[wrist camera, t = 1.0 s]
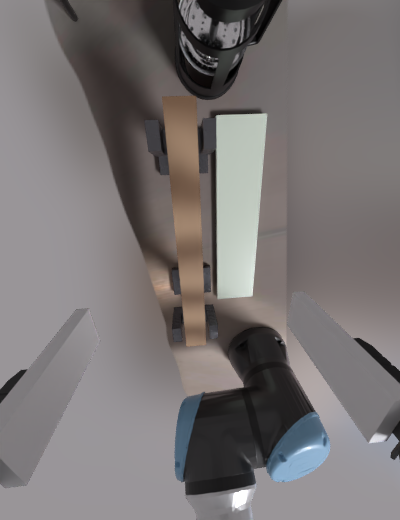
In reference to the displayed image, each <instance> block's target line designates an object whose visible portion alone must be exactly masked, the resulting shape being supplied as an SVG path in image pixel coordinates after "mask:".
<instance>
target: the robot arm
mask: <svg viewBox="0 0 400 520" xmlns="http://www.w3.org/2000/svg"><path fill="white" fill-rule="evenodd" d="M287 325H288V327H289V328H290V330H291V331H292V333H293V334H294V335H295V337H296V338H297V340H298V341H299V343H300V344H301V346H302V347H303V348H304V350H305V352H306V353H307V354H308V356H309V357H310V359H311V360H312V362H313V363H314V365H315V366H316V368H317V369H318V370H319V372H320V373H321V375H322V376H323V378H324V379H325V381H326V382H327V384H328V385H329V386H330V388H331V389H332V391H333V392H334V394H335V395H336V396H337V398H338V399H339V401H340V402H341V404H342V405H343V407H344V408H345V410H346V411H347V413H348V414H349V415H350V417H351V418H352V420H353V421H354V423H355V424H356V426H357V427H358V429H359V430H360V431H361V433H362V434H363V436H364V437H365V439H366V440H367V442H368V443H374V442H381V441H387V440H388V438H389V437H390V435H391V434H392V433H393V434H394V435H395V436H396V437H397V439H398V440H399V443H398V444H397V445H396V447H395V448H394V449H393V451H392V452H391V458H392V459H394V460H395V458H396V457H397V456H398V455H399V458H400V371H399V370H398V369H397V368H396V367H395V366H392V365H391V363H390V362H389V361H388V360H387V359H386V358H385V357H383V356H382V354H380V353H379V352H378V351H377V350H376V349H375V348H374V347H373V346H372V345H370V344H368V343H366V342H365V341H363V340H362V339H360V338H352V337H351V336H350V335H349V334H348V333H347V332H346V331H345V330H344V329H343V328H342V327H341V326H340V325H339V324H338V323H336V322H335V321H334V320H333V319H332V318H331V317H330V316H329V315H328V314H327V313H326V312H325V311H324V310H323V309H322V308H321V307H320V306H319V305H318V304H317V303H316V302H315V301H314V300H312V298H311V297H310V296H308V295H307V294H306V293H305V292H293V295H292V301H291V306H290V311H289V316H288V322H287ZM99 342H100V339H99V336H98V333H97V330H96V327H95V324H94V321H93V318H92V316H91V313H90V310H89V308H87V309H77V310H75V312H74V313H73V314H72V315H71V317H70V318H69V319H68V320H67V322H66V323H65V324H64V325H63V327H62V328H61V329H60V330H59V332H58V333H57V334H56V336H54V338H53V339H52V340H51V341H50V343H49V344H48V345H47V346H46V348H45V349H44V350H43V351H42V353H41V354H40V355H39V357H38V358H37V359H36V360H35V361H34V362H33V364H32V365H31V366H30V367H29V369H27V370H21V371H19V372H18V373H17V374H16V375H15V376H13V377H12V378H11V379H10V380H8V381H7V382H6V384H5V385H4V386H3V387H2V388H1V389H0V484H1V485H2V486H3V487H4V488H10V487H18V486H26V485H27V484H28V482H29V480H30V478H31V476H32V474H33V472H34V470H35V468H36V466H37V464H38V462H39V460H40V458H41V457H42V455H43V453H44V451H45V449H46V447H47V445H48V443H49V441H50V439H51V437H52V435H53V433H54V431H55V429H56V427H57V425H58V423H59V421H60V419H61V417H62V415H63V413H64V411H65V409H66V407H67V405H68V403H69V402H70V400H71V397H72V395H73V393H74V392H75V390H76V388H77V386H78V383H79V382H80V380H81V378H82V376H83V374H84V372H85V370H86V368H87V366H88V364H89V361H90V360H91V358H92V356H93V354H94V352H95V350H96V348H97V346H98V344H99ZM228 355H229V359H230V363H231V365H232V367H233V368H234V370H235V371H236V373H237V374H238V376H239V377H240V379H241V380H242V382H243V384H244V387H243V388H236V389H231V390H224V391H217V392H210V393H205V392H202V393H201V394H198V395H193V396H189V397H187V398H185V399H184V401H183V402H182V404H181V407H180V410H179V414H178V420H177V427H176V437H175V474H176V478H177V479H178V480H179V481H181V482H184V481H185V491H186V499H187V500H188V502H189V503H190V505H191V506H192V507H193V509H194V510H195V513H196V520H253V514H252V509H251V501H252V497H253V495H254V492H255V490H256V487H257V485H256V481H255V476H254V469H256V468H262V467H266V469H267V473H269V475H270V477H271V478H272V480H274V481H276V482H280V481H282V482H288V481H292V480H295V479H298V478H300V477H302V476H304V475H307V474H308V473H310V472H312V471H313V470H315V469H316V468H317V467H318V466H319V465H321V464H322V463H323V462H324V460H325V459H326V458H327V456H328V454H329V451H330V441H329V438H328V435H327V433H326V431H325V429H324V427H323V425H322V423H321V421H320V419H319V415H318V414H317V413H316V411H315V410H314V408H313V406H312V404H311V403H310V401H309V399H308V397H307V396H306V394H305V392H304V390H303V388H302V387H301V385H300V383H299V381H298V380H297V378H296V376H295V374H294V373H293V371H292V369H291V367H290V363H289V358H288V353H287V348H286V345H285V342H284V341H283V339H282V337H281V336H280V334H279V333H277V332H276V331H275V330H272V329H270V328H264V327H258V328H252V329H248V330H246V331H244V332H242V333H240V334H239V335H237V336H236V337H235V338H234V339H233V340H232V342H231V343H230V345H229V349H228Z"/></svg>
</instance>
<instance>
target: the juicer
mask: <svg viewBox="0 0 400 520" xmlns="http://www.w3.org/2000/svg"><path fill="white" fill-rule="evenodd" d="M60 2H61V3H62V5H63V6H64V8H65V9H66V11H67V12H68V14H69V15H70V17H71V18H72V20H73V21H75V22H76V21H77V20H78V18H77V15H76V14H75V12H74V10H73V8H72V7H71V5H70V3H69V2H68V0H60Z"/></svg>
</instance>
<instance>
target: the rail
mask: <svg viewBox="0 0 400 520" xmlns="http://www.w3.org/2000/svg"><path fill="white" fill-rule="evenodd" d="M162 102H163V112H164V122H165V133H166V143H167V153H168V163H169V173H170V184H171V194H172V204H173V214H174V225H175V235H176V245H177V255H178V266H179V276H180V286H181V296H182V306H183V317H184V327H185V337H186V347H189V346H200V345H206V329H205V304H204V279H203V254H202V229H201V205H200V180H199V155H198V130H197V105H196V96H169V97H162Z"/></svg>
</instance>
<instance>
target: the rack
mask: <svg viewBox="0 0 400 520" xmlns="http://www.w3.org/2000/svg"><path fill="white" fill-rule="evenodd" d="M144 121H145V129H146V136H147V144H148V151H149V152H150V153H151V154H153V155H154V156H156V157H158V156H159V164H160V173H161V175H170V173H169V163H168V153H167V143H166V133H165V129H162V127H161V125H160V123H159V121H158V120H144ZM197 130H198V155H199V173H208V154H211V153H212V152H214V151H215V150H216V149H217V138H216V118H203V120H202V124H201V127H200V128H197ZM172 277H173V286H174V295H179V294H181V286H180V276H179V267H177V268H172ZM203 279H204V293H205V292H211V281H210V265H206V266H203ZM205 322H207V325H208V332H209V338H210V339H213V338H218V324H217V320H216V315H215V311H214V306H213V304H212V305H205ZM182 324H184V317H183V307H175V308H174V312H173V324H172V332H173V340H174V342H180V341H182Z"/></svg>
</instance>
